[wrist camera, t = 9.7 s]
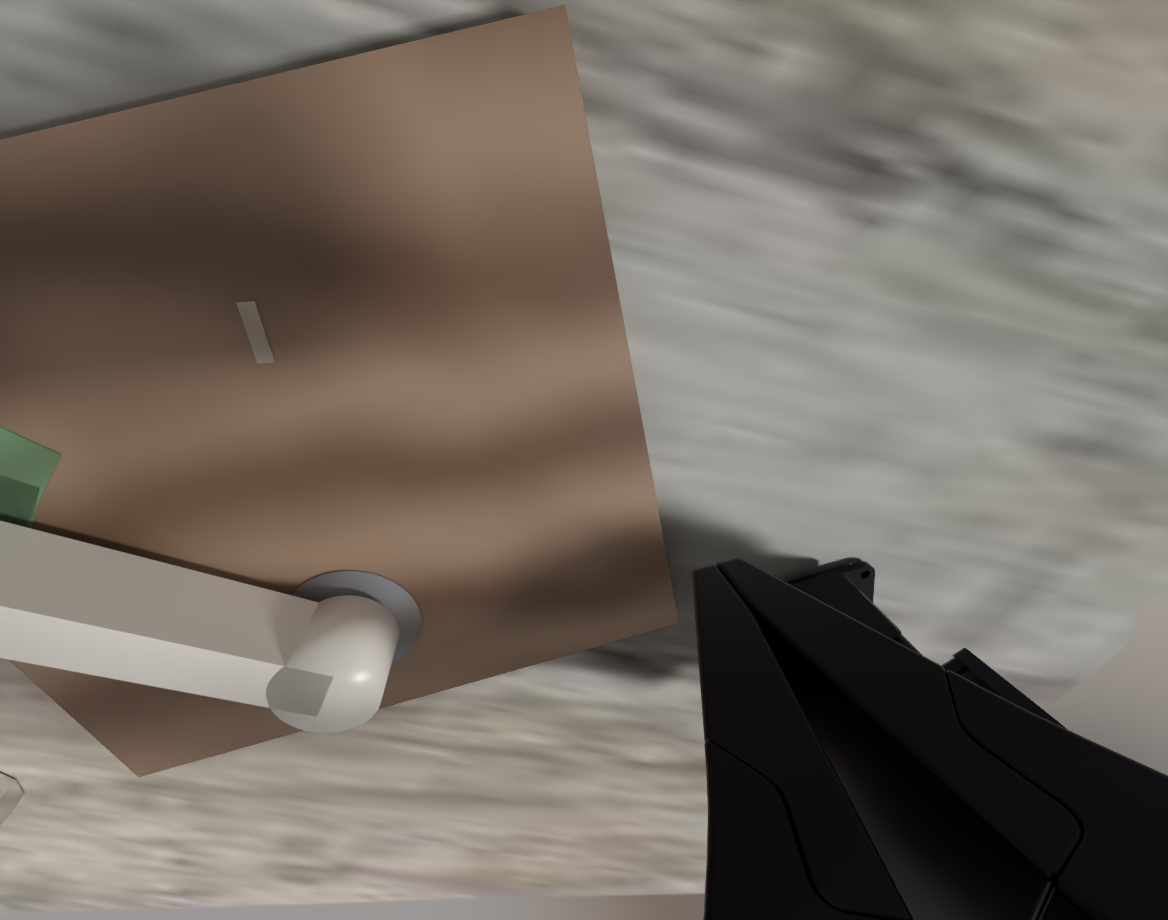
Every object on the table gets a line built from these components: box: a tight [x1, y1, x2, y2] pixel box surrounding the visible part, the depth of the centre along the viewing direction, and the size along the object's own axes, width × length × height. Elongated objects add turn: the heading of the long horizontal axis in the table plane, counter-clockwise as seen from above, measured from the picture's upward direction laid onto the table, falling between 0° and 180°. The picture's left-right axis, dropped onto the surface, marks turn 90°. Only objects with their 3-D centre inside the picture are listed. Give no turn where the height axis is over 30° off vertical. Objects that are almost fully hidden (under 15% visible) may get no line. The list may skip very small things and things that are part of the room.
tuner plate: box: [0, 5, 679, 777], centre depth 17 cm, size 22×25×2 cm
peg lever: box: [0, 521, 399, 733], centre depth 15 cm, size 16×4×3 cm, turn 63°
